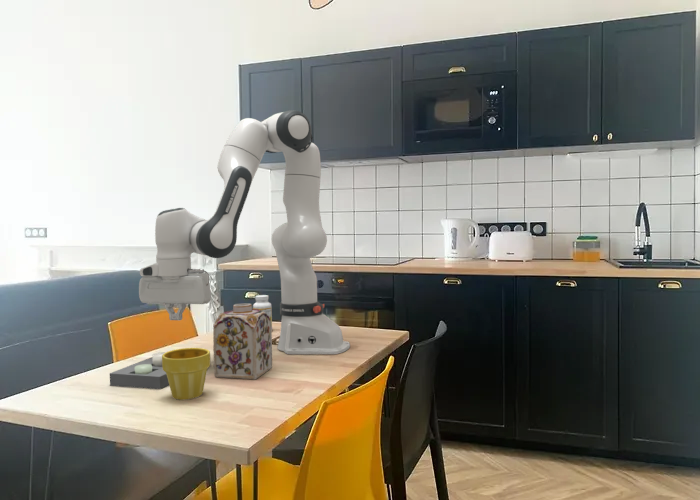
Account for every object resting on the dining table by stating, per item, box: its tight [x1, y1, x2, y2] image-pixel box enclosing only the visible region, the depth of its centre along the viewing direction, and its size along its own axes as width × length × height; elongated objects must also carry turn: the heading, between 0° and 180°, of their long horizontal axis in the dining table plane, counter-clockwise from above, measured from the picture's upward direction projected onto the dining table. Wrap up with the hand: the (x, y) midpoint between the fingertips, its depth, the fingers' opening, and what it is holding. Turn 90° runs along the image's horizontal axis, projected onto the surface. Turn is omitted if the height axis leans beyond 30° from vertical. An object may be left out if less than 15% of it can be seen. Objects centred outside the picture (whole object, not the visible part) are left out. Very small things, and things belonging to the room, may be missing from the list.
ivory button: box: [151, 352, 165, 367], centre depth 140 cm, size 4×4×3 cm
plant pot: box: [162, 347, 211, 401], centre depth 123 cm, size 10×10×10 cm
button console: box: [109, 356, 169, 390], centre depth 140 cm, size 14×21×3 cm, turn 164°
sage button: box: [135, 364, 152, 375], centre depth 133 cm, size 4×4×3 cm
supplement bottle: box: [252, 294, 273, 331], centre depth 196 cm, size 7×7×13 cm
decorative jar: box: [212, 303, 273, 381], centre depth 141 cm, size 12×12×18 cm
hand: (176, 319), depth 146 cm, fingers closed
